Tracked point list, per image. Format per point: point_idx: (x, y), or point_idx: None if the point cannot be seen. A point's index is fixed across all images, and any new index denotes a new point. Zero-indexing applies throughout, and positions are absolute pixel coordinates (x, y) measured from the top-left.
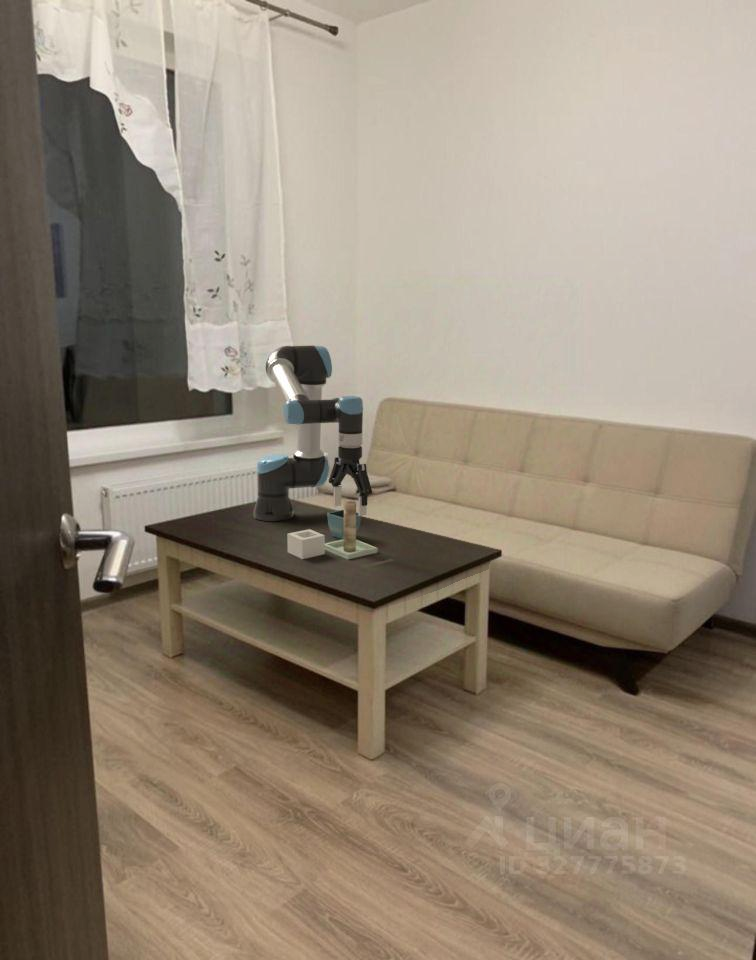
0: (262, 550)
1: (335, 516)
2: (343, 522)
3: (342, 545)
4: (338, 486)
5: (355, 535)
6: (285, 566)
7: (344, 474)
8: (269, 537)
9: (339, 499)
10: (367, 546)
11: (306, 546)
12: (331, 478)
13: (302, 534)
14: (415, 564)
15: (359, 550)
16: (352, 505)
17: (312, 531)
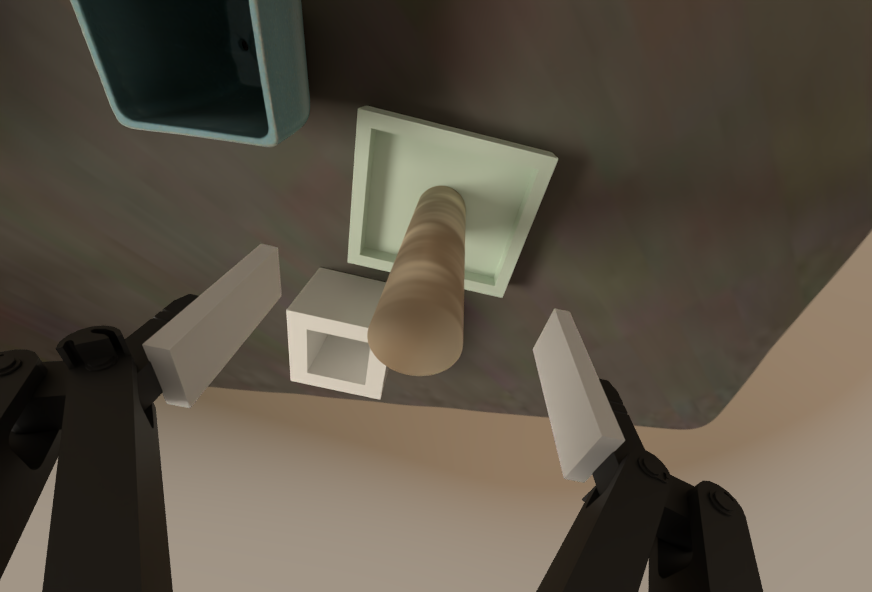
0: (247, 343)
1: (206, 137)
2: (286, 137)
3: (375, 179)
4: (171, 373)
5: (464, 228)
6: (394, 388)
7: (150, 586)
8: (125, 253)
9: (254, 286)
10: (497, 158)
11: (387, 369)
12: (39, 472)
13: (310, 343)
14: (770, 147)
15: (473, 185)
16: (457, 353)
17: (319, 324)
